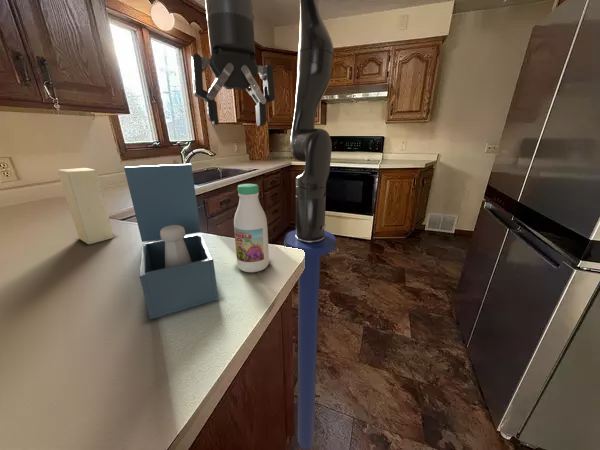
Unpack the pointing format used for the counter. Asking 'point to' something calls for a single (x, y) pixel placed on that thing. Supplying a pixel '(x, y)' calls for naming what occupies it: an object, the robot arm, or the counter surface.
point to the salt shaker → (174, 246)
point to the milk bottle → (250, 230)
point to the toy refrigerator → (86, 204)
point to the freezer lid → (163, 198)
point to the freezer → (177, 278)
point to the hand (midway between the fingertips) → (238, 125)
